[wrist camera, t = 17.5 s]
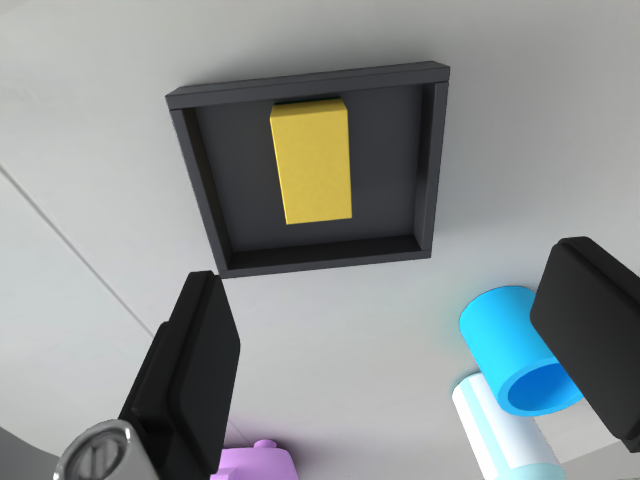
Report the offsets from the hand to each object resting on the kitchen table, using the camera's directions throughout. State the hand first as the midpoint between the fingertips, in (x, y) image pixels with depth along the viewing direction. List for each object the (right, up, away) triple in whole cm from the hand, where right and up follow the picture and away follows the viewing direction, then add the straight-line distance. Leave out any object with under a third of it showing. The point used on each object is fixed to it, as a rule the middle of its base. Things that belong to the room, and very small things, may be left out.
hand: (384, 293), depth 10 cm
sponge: (-2, +8, +15) cm, 17 cm away
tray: (-2, +7, +16) cm, 18 cm away
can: (+17, -16, +32) cm, 40 cm away
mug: (+18, -6, +26) cm, 32 cm away
